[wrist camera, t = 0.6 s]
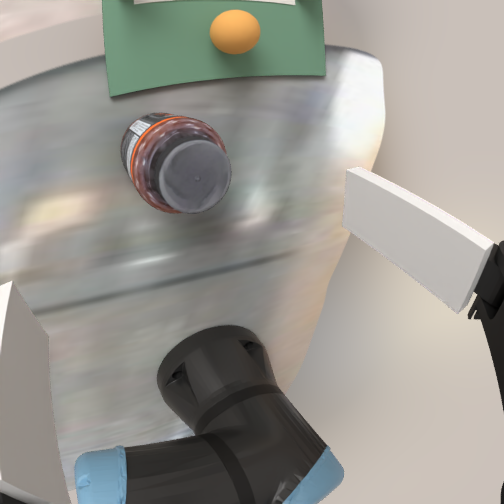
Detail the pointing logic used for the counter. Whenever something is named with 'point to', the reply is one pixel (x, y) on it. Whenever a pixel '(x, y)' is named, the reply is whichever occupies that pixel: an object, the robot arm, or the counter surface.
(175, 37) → the pitch mat
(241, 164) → the counter surface
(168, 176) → the supplement bottle
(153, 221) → the counter surface
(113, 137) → the counter surface
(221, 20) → the ball
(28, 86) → the counter surface
